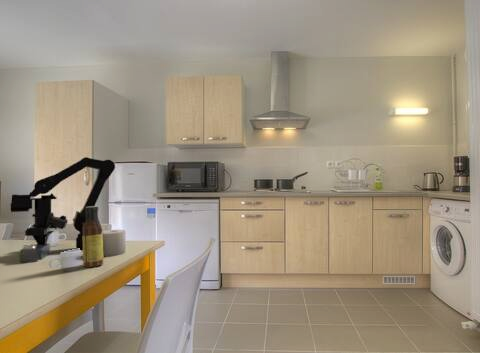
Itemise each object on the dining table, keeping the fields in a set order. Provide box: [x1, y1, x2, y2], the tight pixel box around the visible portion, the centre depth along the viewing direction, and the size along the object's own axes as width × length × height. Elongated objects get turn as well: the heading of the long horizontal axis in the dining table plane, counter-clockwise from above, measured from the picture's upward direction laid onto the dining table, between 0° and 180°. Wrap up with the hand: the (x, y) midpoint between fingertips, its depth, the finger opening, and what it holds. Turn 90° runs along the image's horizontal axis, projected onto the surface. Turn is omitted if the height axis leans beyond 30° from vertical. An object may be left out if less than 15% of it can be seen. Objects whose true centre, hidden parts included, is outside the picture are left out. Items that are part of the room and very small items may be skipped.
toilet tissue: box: [102, 229, 126, 257], centre depth 120 cm, size 9×13×9 cm
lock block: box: [29, 243, 51, 261], centre depth 116 cm, size 6×9×4 cm
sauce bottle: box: [82, 205, 104, 268], centre depth 104 cm, size 6×6×20 cm
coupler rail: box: [19, 244, 39, 264], centre depth 115 cm, size 5×14×5 cm, turn 15°
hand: (42, 250), depth 123 cm, fingers closed
